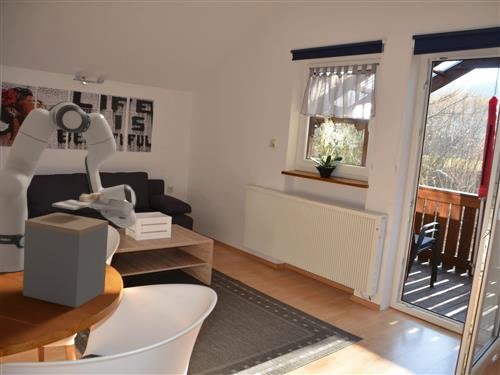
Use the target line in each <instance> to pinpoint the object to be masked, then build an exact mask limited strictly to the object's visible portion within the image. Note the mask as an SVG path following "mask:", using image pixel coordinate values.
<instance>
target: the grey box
mask: <svg viewBox="0 0 500 375" xmlns="http://www.w3.org/2000/svg"><path fill="white" fill-rule="evenodd" d="M108 235H109V220H103V219H99V218H93V217H86V216H80V215H75V214H69V213H64V212H59V211H57V212H54V213H49V214H46V215H42V216H37V217H33V218H27V220H25V237H24V270H23V277H22V278H23V279H22V280H23V281H22V283H23V284H22V296H25V297H29V298H33V299H36V300H40V301H41V300H42V301H45V302H50V303H53V304H58V305H63V306H67V307H69V308H75V309H77V308H79V307H81V306H82V305H84V304H85V303H88V302H89V301H91V300H93V299H94V298H96V297H97V296H99V295H101V294H103V293H105V290H106V272H107V271H106V270H107V254H108V253H107V252H108V238H109V236H108Z"/></svg>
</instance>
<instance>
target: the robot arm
mask: <svg viewBox="0 0 500 375" xmlns="http://www.w3.org/2000/svg"><path fill="white" fill-rule="evenodd" d="M58 130H62V131H63V132H65V133H68V134H69V133H70V134H76V133H77V134H79V133H81V134H82V136H83V138H84V140H85V143H86V145H87V155H86V156H85V157H84V165H85V166H84V167H85V172H86V178H87V182H88V188H89V194H93V193H97V192H101V193H104V195H98V197H97V199H98V201H94V202H90V203H92V206H88V207H87V208H90V209H94V210H95V211H97V212H99V213H100V214H101V216H103V217H104V218H106V219H107V221H110V222H112V223H113V224H114V225H116V226H117V227H120V228H122V229H129V228H132V227H134V225H135V224H136V223H137V219H138V218H137V215H136V212H135V207H136V205H137V195H136V192H135V190H134V189H133V188H132V186H130V185H128V184H120V185H115V186H112V187H105V188H104V187H103V186H102V181H101V176H100V173H99V171H100V170H99V169H100V167H101V166H102V165H103V164H105V163H106V162H108V161H109V160H111V158H112V157H114V155H115V154H116V151H117V143H116V139H115V136H114V134H113V131H112V128H111V126H110V124H109V123H108V121H107V119H106V117H105V116H104V115H103V114H102V113H99V112H91V113H87V112H86V111H84V110H83V109H82V108H81V107H80V106H79V105H77V104H76V103H75V102H70V101H66V100H65V101H61V102H60V101H59V102H58V103H57V104H55V105H53V106H52V107H50V108H49V109H48V110H47V109H44V108H38V107H37V108H34V109H31V111H29V113H28V114H27V116H26V117H25V119H24V120H23V122H22V124H21V126H20V127H19V129H18V132H17V134H16V136H15V138H14V141H13V142H12V145H11V147H10V149H9V152H8V154H7V157H6V160H5V162H4V165H3V167H2V169H1V171H0V273H13V272H20V271H24V237H25V220H28V217H29V216H28V214H29V212H28V198H27V196H28V195H27V191H28V188H29V186H30V184H31V183H32V182H31V181H32V179H33V178H34V176H35V173H36V171H37V169H38V166H39V164H40V161H41V159H42V157H43V156H44V152H45V151H46V149H47V148H48V147H47V146H48V144H49V142H50V140H51V138H52V135H54V132H56V131H58ZM84 195H88V193H81V195H80V196H84Z"/></svg>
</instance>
